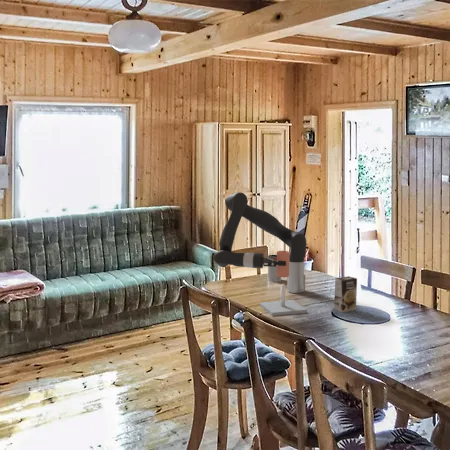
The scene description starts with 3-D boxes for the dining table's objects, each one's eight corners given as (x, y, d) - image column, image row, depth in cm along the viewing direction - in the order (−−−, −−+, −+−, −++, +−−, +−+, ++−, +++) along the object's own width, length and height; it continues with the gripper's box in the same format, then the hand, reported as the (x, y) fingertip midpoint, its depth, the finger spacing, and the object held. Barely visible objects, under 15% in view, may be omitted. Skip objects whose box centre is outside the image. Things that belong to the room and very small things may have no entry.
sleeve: (282, 273, 274) (282, 250, 272) (291, 275, 270) (291, 251, 268) (274, 275, 270) (274, 251, 268) (283, 277, 266) (284, 253, 264)
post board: (292, 302, 283) (293, 278, 281) (306, 312, 266) (307, 287, 264) (259, 305, 278) (259, 281, 277) (271, 315, 261) (272, 290, 259)
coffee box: (342, 313, 265) (342, 280, 263) (333, 309, 271) (334, 277, 268) (356, 310, 269) (357, 278, 267) (348, 307, 275) (348, 275, 273)
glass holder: (264, 279, 333) (264, 255, 331) (283, 276, 340) (283, 253, 338) (272, 282, 325) (272, 257, 323) (291, 279, 332) (292, 255, 330)
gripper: (250, 255, 265) (284, 257, 261) (256, 250, 279) (289, 251, 275) (250, 270, 266) (284, 272, 262) (256, 264, 280) (289, 266, 276)
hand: (286, 262), depth 268 cm, fingers closed on sleeve, 6 cm apart
